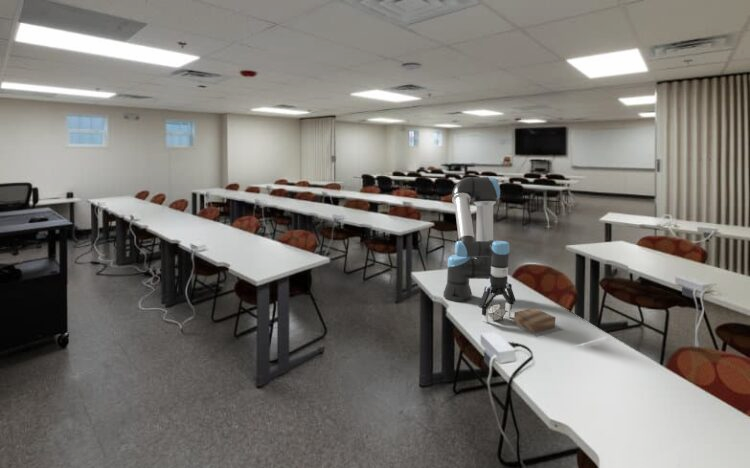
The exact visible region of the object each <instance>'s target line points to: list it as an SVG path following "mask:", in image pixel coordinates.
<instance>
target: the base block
mask: <svg viewBox="0 0 750 468" xmlns="http://www.w3.org/2000/svg"><path fill="white" fill-rule="evenodd" d="M513 317H514V318H513V319H514V323H516V324H518V325H520V326H522V327H524V328H525V329H527V330H529V331H531V332H533V333H537V332H541V331H545V330H549V329H553V328H555V326H556V318H557V317H555V316H554V315H552V314H550V313H546V312H544V311H542V310H540V309H538V308H536V307H532V308H528V309H524V310H523V309H522V310H519V311H514V316H513Z"/></svg>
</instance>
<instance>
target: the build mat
mask: <svg viewBox="0 0 750 468" xmlns="http://www.w3.org/2000/svg"><path fill="white" fill-rule="evenodd" d="M506 322H508V323H509V324H511V325H513V326H514V327H517V328H518V329H520V330H523V331H524V332H526V333H528V334H530V335H532V336H533V337H536V338H538V337H541V336H545V335H549V334H553V333H556V332H557V333H558V332H561V331H564V329H563V328H560V327H558V326H556V325H555V328H553V329H549V330H545V331H541V332H537V333H533V332H531V331H529V330H527V329H525V328H524V327H522V326H520V325H518V324H516V323H514V318H513V319H512V318H511V319H508V320H506Z"/></svg>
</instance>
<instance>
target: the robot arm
mask: <svg viewBox="0 0 750 468" xmlns="http://www.w3.org/2000/svg"><path fill="white" fill-rule="evenodd" d="M500 195H501V188H500V183H499V181H498V179H497V178H496V177H493V176H492V177H490V176H483V177H482V176H478V177H474V176H473V177H471V176H467V177H463V178H461V179H460V180H459V181H458V182H456V184H455V185H454V187H453V189H452V192H451V201H452V203H453V204H454V210H455V219H456V228H457V238H458V241H455V244H454V252H455V254H452V255H450V256H449V257H448V259H447V270H446V271H447V274H446V278H447V279H446V284H445V287H444V290H443V293H442V294H443V298H444V297H445V299H446V300H448V301H451V302H459V303H460V302H461V303H462V302H467V301H468V302H469V301H470V300H472V298H473V293H472V289H471V285H470V280H485V279H486V280H489V283H490V286H489V287H488V286H484V290H483V291H484V292H483V293H482V296H481V298H480V301H479V303H478V307H479V308H480V309H481V315H482V322H485V323H486V324H487V323H488V322H489V314H488V311H489V306H490V305H491V304H492V301H493V300H494V298H496V297H497V296H500V295H501V296H502V297H503V298H504V300H505V301H506V302H505V307H504V310H505V311H508V312H506V313H505V315H504V316H505V317H506V318H508V319H510V318H511V311H512V309H513V308H512V306H513V305H515V302H516V298H515V293H514V291H513V288H512V287H513V286H512V285H513V284H511V283H509V282H508V275H509V257H510V251H511V250H510V243H509V242H508V241H504V240H496V239H494V205H495V204H497V200H499V199H500ZM471 200H473V204H474V205H475V206H476V233H474V226H473V218H472V213H471V212H472V211H471V205H470V202H471ZM475 234H476V240H475ZM488 324H489V323H488Z"/></svg>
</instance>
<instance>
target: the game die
mask: <svg viewBox="0 0 750 468" xmlns="http://www.w3.org/2000/svg"><path fill="white" fill-rule="evenodd" d="M506 312H508V311H505V307H504V308H503V306H502V305H501V302H499V303H498V304H492V303H490V308H488V317H490V318H491V319H492V320H493V322H494V323H495V321H504V316H505V313H506Z"/></svg>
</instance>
